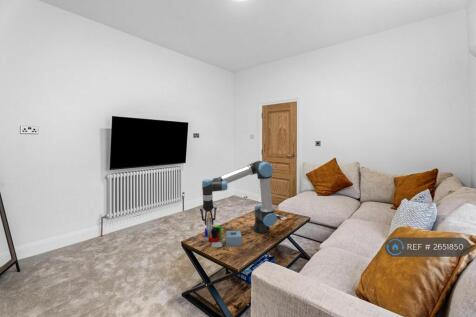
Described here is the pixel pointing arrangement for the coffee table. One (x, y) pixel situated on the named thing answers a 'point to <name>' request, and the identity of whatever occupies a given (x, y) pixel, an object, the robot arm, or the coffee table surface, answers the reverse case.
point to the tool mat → (216, 244)
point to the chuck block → (233, 238)
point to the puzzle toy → (213, 234)
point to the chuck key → (209, 224)
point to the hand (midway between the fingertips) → (209, 228)
